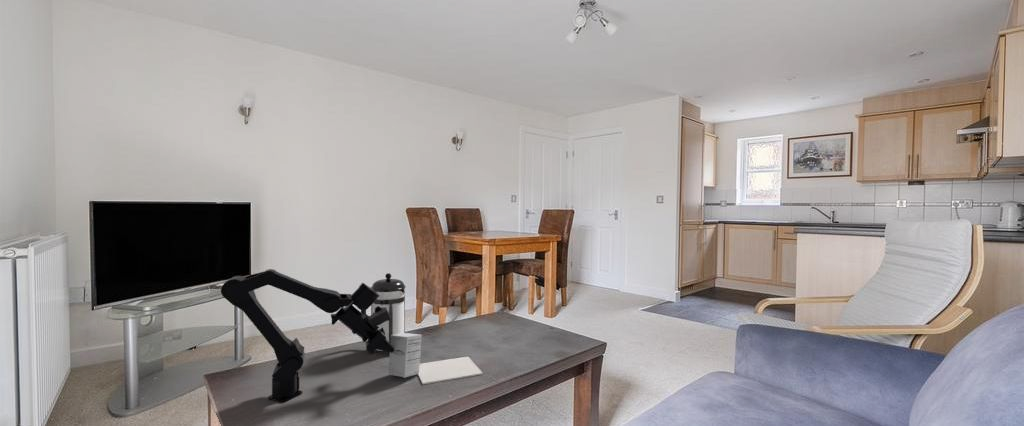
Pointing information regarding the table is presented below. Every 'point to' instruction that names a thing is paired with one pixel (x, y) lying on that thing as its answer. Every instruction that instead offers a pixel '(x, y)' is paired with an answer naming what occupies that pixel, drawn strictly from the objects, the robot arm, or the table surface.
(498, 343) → the table surface
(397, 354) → the supplement box
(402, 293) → the coffee press
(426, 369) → the mat
